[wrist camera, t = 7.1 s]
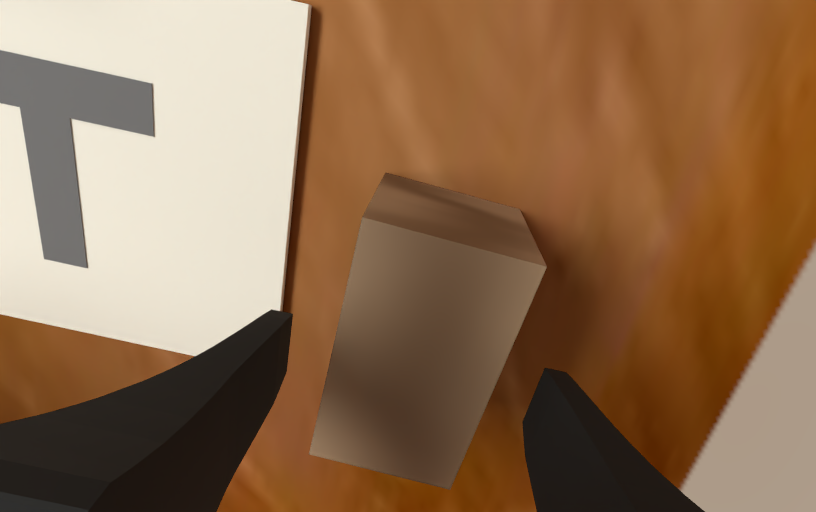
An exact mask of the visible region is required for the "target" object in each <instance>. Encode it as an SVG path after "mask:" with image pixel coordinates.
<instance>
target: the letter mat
mask: <svg viewBox="0 0 816 512" xmlns="http://www.w3.org/2000/svg"><path fill="white" fill-rule="evenodd" d="M311 8H312V5H309V4H305V3H300V2H296V1H291V0H0V314H2V315H7V316H11V317H16V318H21V319H25V320H30V321H34V322H39V323H44V324H48V325H53V326H58V327H62V328H67V329H72V330H76V331H81V332H85V333H90V334H95V335H99V336H104V337H109V338H113V339H118V340H122V341H127V342H132V343H136V344H141V345H146V346H150V347H155V348H160V349H164V350H169V351H173V352H178V353H183V354H187V355H192V356H197V355H199V354H200V353H202V352H204V351H206V350H208V349H209V348H211V347H213V346H215V345H216V344H218V343H219V342H221V341H223V340H224V339H226V338H227V337H229V336H231V335H232V334H234V333H236V332H237V331H239V330H240V329H242V328H243V327H245V326H246V325H248V324H249V323H251V322H252V321H254V320H255V319H257V318H258V317H260V316H261V315H263V314H265V313H266V312H268V311H270V310H271V309H272V310H277V311H281V312H282V310H283V299H284V289H285V279H286V268H287V258H288V247H289V237H290V226H291V216H292V206H293V195H294V185H295V174H296V164H297V154H298V143H299V133H300V122H301V112H302V101H303V91H304V81H305V70H306V60H307V49H308V39H309V28H310V18H311Z"/></svg>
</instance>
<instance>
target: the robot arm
mask: <svg viewBox="0 0 816 512" xmlns="http://www.w3.org/2000/svg"><path fill="white" fill-rule="evenodd" d="M292 317H293V314H291V313H286V312H281V311H277V310H272V309H271V310H270V311H268V312H266V313H265V314H263V315H261V316H260V317H258V318H257V319H255V320H254V321H252V322H251V323H249V324H248V325H246V326H245V327H243V328H242V329H240V330H239V331H237V332H236V333H234V334H232V335H231V336H229V337H227V338H226V339H224V340H223V341H221V342H219V343H218V344H216V345H215V346H213V347H211V348H209V349H208V350H206V351H204V352H202V353H200V354H199V355H197V356H195V357H193V358H191V359H190V360H188V361H186V362H184V363H182V364H180V365H178V366H176V367H174V368H172V369H169V370H167V371H165V372H163V373H161V374H158V375H156V376H154V377H152V378H149V379H147V380H144V381H142V382H139V383H137V384H134V385H131V386H129V387H126V388H123V389H121V390H118V391H115V392H113V393H110V394H107V395H105V396H102V397H99V398H96V399H93V400H89V401H86V402H83V403H80V404H77V405H73V406H70V407H66V408H63V409H59V410H56V411H52V412H49V413H45V414H41V415H37V416H33V417H29V418H24V419H20V420H16V421H11V422H7V423H3V424H0V512H216V511H217V509H218V507H219V505H220V502H221V500H222V498H223V496H224V493H225V491H226V489H227V487H228V485H229V483H230V481H231V479H232V477H233V475H234V473H235V472H236V470H237V468H238V466H239V464H240V463H241V461H242V459H243V457H244V456H245V454H246V452H247V450H248V448H249V447H250V445H251V443H252V441H253V440H254V438H255V436H256V434H257V433H258V431H259V429H260V427H261V425H262V424H263V422H264V420H265V418H266V416H267V415H268V413H269V411H270V409H271V407H272V405H273V404H274V401H275V399H276V397H277V394H278V392H279V389H280V387H281V384H282V382H283V379H284V377H285V374H286V372H287V363H288V353H289V344H290V335H291V326H292ZM523 436H524V448H525V457H526V462H527V467H528V472H529V477H530V481H531V486H532V491H533V495H534V500H535V504H536V509H537V512H705V511H703V510H702V509H701V508H700V507H698V506H697V505H696V504H695V503H693V502H692V501H691V500H690V499H689V498H688V497H686V496H685V495H684V494H683V493H682V492H681V491H680V490H678V489H677V488H676V487H675V486H674V485H673V484H672V483H671V482H670V481H668V480H667V479H666V478H665V477H664V476H663V475H662V474H661V473H660V472H659V471H657V470H656V469H655V468H654V467H653V466H652V465H651V464H650V463H649V462H648V461H647V460H646V459H645V458H644V457H643V456H642V455H641V454H640V453H639V452H638V451H637V450H636V449H635V448H634V447H633V446H632V445H631V444H630V443H629V442H628V441H627V439H626V438H625V437H624V436H623V435H622V434H621V433H620V432H619V431H618V430H617V429H616V428H615V427H614V425H613V424H612V423H611V422H610V421H609V420H608V419H607V418H606V417H605V415H604V414H603V413H602V412H601V411H600V410H599V409H598V407H597V406H596V405H595V404H594V403H593V402H592V400H591V399H590V398H589V397H588V396H587V395H586V394H585V392H584V391H583V390H582V389H581V388H580V387H579V386H578V384H577V383H576V382H575V381H574V380H573V379H572V378H571V377H570V376H569V375H568V374H567V373H566V372H562V371H557V370H553V369H548V368H545V369H544V371H543V374H542V376H541V378H540V381H539V383H538V386H537V388H536V391H535V393H534V395H533V398H532V400H531V403H530V405H529V408H528V410H527V412H526V415H525V417H524V420H523Z"/></svg>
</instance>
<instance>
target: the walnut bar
mask: <svg viewBox="0 0 816 512" xmlns="http://www.w3.org/2000/svg"><path fill="white" fill-rule="evenodd" d="M546 268H547V266H546V264H545V262H544V260H543V257H542V255H541V253H540V251H539V249H538V247H537V245H536V243H535V241H534V238H533V236H532V234H531V232H530V230H529V228H528V226H527V224H526V222H525V219H524V217H523V215H522V213H521V211H520V209H517V208H513V207H510V206H506V205H502V204H499V203H495V202H491V201H488V200H484V199H480V198H477V197H473V196H469V195H466V194H462V193H458V192H455V191H451V190H448V189H444V188H440V187H437V186H433V185H429V184H426V183H422V182H418V181H415V180H411V179H407V178H404V177H400V176H396V175H393V174H389V173H385V175H384V177H383V179H382V180H381V182H380V184H379V186H378V188H377V190H376V192H375V194H374V196H373V198H372V200H371V202H370V203H369V205H368V207H367V209H366V211H365V213H364V215H363V217H362V221H361V225H360V230H359V234H358V239H357V243H356V248H355V252H354V256H353V261H352V265H351V270H350V274H349V279H348V283H347V288H346V292H345V296H344V301H343V305H342V310H341V314H340V319H339V323H338V328H337V332H336V337H335V341H334V345H333V350H332V354H331V359H330V363H329V368H328V372H327V377H326V381H325V385H324V390H323V394H322V399H321V403H320V408H319V412H318V417H317V421H316V426H315V430H314V434H313V439H312V443H311V448H310V452H309V454H310V455H314V456H318V457H322V458H326V459H330V460H334V461H338V462H342V463H346V464H350V465H354V466H358V467H362V468H366V469H370V470H374V471H378V472H382V473H386V474H390V475H394V476H398V477H402V478H406V479H410V480H414V481H418V482H422V483H426V484H430V485H434V486H438V487H442V488H446V489H450V488H451V486H452V484H453V481H454V479H455V477H456V474H457V472H458V470H459V468H460V465H461V463H462V461H463V458H464V456H465V454H466V451H467V449H468V447H469V445H470V442H471V440H472V438H473V435H474V433H475V431H476V429H477V426H478V424H479V422H480V419H481V417H482V415H483V412H484V410H485V408H486V406H487V403H488V401H489V399H490V396H491V394H492V392H493V390H494V387H495V385H496V383H497V380H498V378H499V376H500V373H501V371H502V369H503V367H504V364H505V362H506V360H507V357H508V355H509V353H510V350H511V348H512V346H513V344H514V341H515V339H516V337H517V334H518V332H519V330H520V328H521V325H522V323H523V321H524V318H525V316H526V314H527V311H528V309H529V307H530V305H531V302H532V300H533V298H534V295H535V293H536V291H537V288H538V286H539V284H540V282H541V279H542V277H543V275H544V272H545V270H546Z"/></svg>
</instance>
